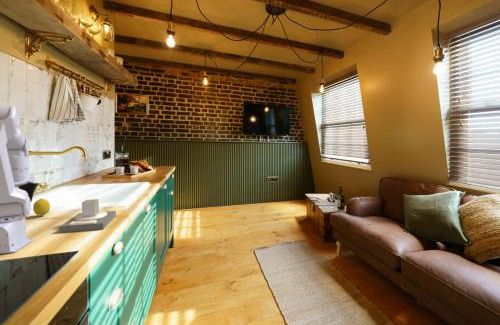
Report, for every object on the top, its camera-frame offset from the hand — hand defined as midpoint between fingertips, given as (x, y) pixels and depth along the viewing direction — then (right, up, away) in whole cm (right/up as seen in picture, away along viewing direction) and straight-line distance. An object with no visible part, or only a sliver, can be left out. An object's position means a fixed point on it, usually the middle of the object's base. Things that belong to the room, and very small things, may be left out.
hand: (21, 204), depth 86 cm
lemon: (-6, -8, +16) cm, 19 cm away
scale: (+21, -9, +8) cm, 24 cm away
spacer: (+21, -6, +8) cm, 23 cm away
